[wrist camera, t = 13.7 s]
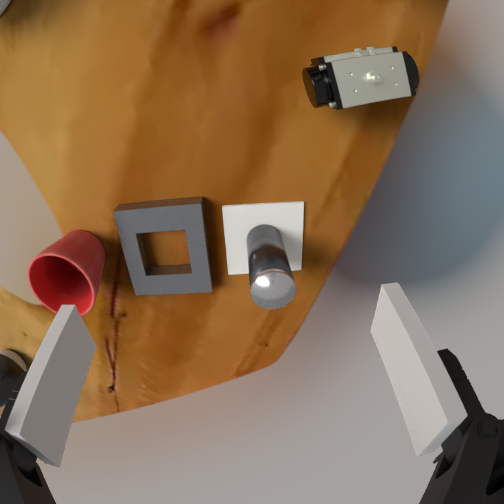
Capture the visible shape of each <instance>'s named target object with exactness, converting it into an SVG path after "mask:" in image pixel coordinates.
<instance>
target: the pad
mask: <svg viewBox="0 0 504 504" xmlns="http://www.w3.org/2000/svg"><path fill="white" fill-rule="evenodd" d="M222 211H223V222H224V233H225V244H226V255H227V265H228V275H231V274H247V273H249V267H248V255H247V243H246V239H247V235H248V233H249V231H250V230H251V229H252V228H254V227H256V226H258V225H261V224H268V225H272V226H274V227H275V228H277V229H278V230H279V232H280V234H281V237H282V240H283V244H284V247H285V250H286V254H287V257H288V261H289V265H290V268H291V271H293V270H301V265H302V243H303V216H304V202H303V201H296V202H274V203H255V204H238V205H223V206H222Z"/></svg>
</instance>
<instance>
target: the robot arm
mask: <svg viewBox="0 0 504 504" xmlns="http://www.w3.org/2000/svg"><path fill="white" fill-rule="evenodd" d="M371 333H372V336H373V338H374V340H375V343H376V345H377V348H378V350H379V353H380V355H381V358H382V360H383V363H384V365H385V368H386V371H387V373H388V376H389V379H390V381H391V384H392V387H393V389H394V392H395V395H396V397H397V400H398V403H399V406H400V408H401V411H402V414H403V417H404V420H405V423H406V426H407V429H408V432H409V435H410V438H411V441H412V444H413V447H414V450H415V453H416V456H417V457H419V456H422V455H425V454H428V453H431V452H434V451H435V450H436V449H437V448H438V447H439V446H440V445H441V446H442V449H443V452H442V453H441V454H440V455H438V456H437V457H436V459H435V460H434V462H433V463H436V462H437V461H438V460H439V461H438V463H437V466H436V468H435V471H434V473H433V475H432V477H431V480H430V482H429V484H428V486H427V489H426V491H425V493H424V495H423V497H422V499H421V501H420V503H419V504H504V419H503V420H498V419H497V418H496V417H495V416H493V415H491V414H487V413H486V412H485V411H484V409H483V408H482V406H481V404H480V402H479V400H478V398H477V395H476V394H475V392H474V390H473V387H472V386H471V383H470V382H469V380H468V379H467V376H466V374H465V372H464V370H462V366H461V364H460V362H459V361H458V359H457V357H456V356H455V355H454V354H452V352H450V351H449V350H448V349H443V350H439V351H436V349H435V347H434V345H433V343H432V342H431V340H430V338H429V336H428V334H427V332H426V330H425V329H424V327H423V325H422V323H421V321H420V320H419V318H418V316H417V314H416V313H415V311H414V309H413V307H412V306H411V304H410V303H409V301H408V299H407V297H406V295H405V294H404V292H403V290H402V289H401V287H400V285H399V284H398V283H390V284H382V285H381V290H380V294H379V298H378V303H377V307H376V311H375V316H374V319H373V323H372V327H371ZM96 347H97V346H96V345H95V343H94V341H93V339H92V337H91V335H90V333H89V332H88V330H87V328H86V326H85V324H84V322H83V320H82V318H81V316H80V314H79V312H78V310H77V308H76V305H61V307H60V309H59V311H58V313H57V315H56V316H55V318H54V320H53V322H52V324H51V326H50V328H49V330H48V332H47V334H46V336H45V338H44V340H43V342H42V344H41V346H40V348H39V350H38V352H37V354H36V356H35V358H34V360H33V362H32V364H31V367H30V369H29V371H28V372H27V371H24V372H23V373H22V374H21V375H20V376H19V377H18V379H17V380H16V382H15V384H14V387H13V389H12V392H11V393H10V396H9V400H8V401H7V403H6V405H5V408H4V410H3V413H2V415H1V418H0V504H56V502H55V500H54V498H53V496H52V494H51V492H50V490H49V488H48V485H47V483H46V481H45V479H44V477H43V474H42V472H41V469H40V467H39V465H38V464H37V463H36V459H37V457H38V458H39V459H40V460H41V461H43V462H44V463H46V464H50V465H53V466H57V467H60V464H61V460H62V456H63V452H64V448H65V444H66V440H67V437H68V433H69V430H70V426H71V423H72V419H73V416H74V413H75V409H76V406H77V403H78V400H79V397H80V394H81V390H82V387H83V384H84V381H85V378H86V375H87V373H88V370H89V367H90V364H91V361H92V358H93V355H94V353H95V350H96Z"/></svg>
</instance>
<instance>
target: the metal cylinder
mask: <svg viewBox="0 0 504 504" xmlns="http://www.w3.org/2000/svg"><path fill="white" fill-rule="evenodd" d="M246 243H247V255H248V267H249V279H250V291H251V297H252V300H253V301H254V302H255V303H256V304H257V305H258V306H260V307H262V308H265V309H278V308H281V307H283V306H285V305H287V304H288V303H290V302H291V301H292V299H293V298H294V296H295V293H296V286H295V282H294V279H293V275H292V272H291V268H290V265H289V261H288V257H287V254H286V250H285V247H284V244H283V240H282V237H281V234H280V232H279V230H278V229H277V228H275V227H274V226H272V225H268V224H261V225H258V226H256V227H254V228H252V229H251V230H250V231H249V233H248V235H247V239H246Z"/></svg>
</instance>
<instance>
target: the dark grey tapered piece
mask: <svg viewBox="0 0 504 504" xmlns="http://www.w3.org/2000/svg"><path fill="white" fill-rule="evenodd" d="M24 371H27V368H26V364H25V362H24V361H23V359H22V358H21V357H20V356H19V355H18V354H16V353H15V352H13V351H10V350H2V351H0V408H1V407H3V406H5V405H6V403H7V401H8V400H9V396H10V393H11V392H12V389H13V387H14V384H15V382H16V380H17V379H18V377H19V376H20V375H21V374H22V373H23V372H24Z"/></svg>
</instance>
